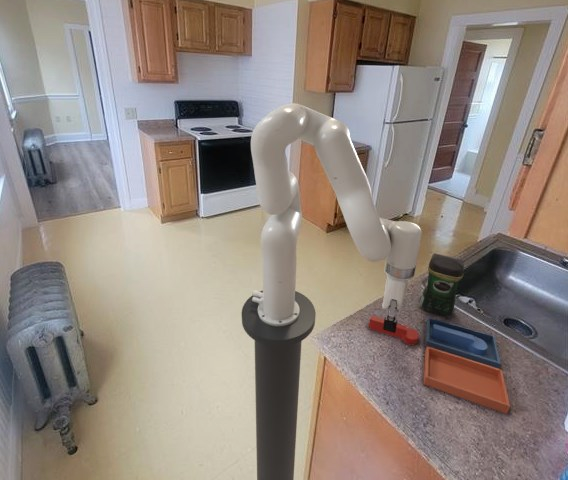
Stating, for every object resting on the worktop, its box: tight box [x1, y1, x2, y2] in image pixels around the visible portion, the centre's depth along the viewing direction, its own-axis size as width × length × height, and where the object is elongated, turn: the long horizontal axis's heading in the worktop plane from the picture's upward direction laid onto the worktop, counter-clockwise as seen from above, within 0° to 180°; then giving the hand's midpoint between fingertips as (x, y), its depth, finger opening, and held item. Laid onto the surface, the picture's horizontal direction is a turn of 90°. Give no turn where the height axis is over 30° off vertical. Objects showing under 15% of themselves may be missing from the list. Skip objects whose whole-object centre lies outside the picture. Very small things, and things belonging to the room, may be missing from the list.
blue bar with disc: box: [431, 324, 487, 355], centre depth 88 cm, size 13×4×3 cm, turn 66°
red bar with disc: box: [368, 315, 420, 346], centre depth 91 cm, size 13×4×3 cm, turn 66°
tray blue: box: [424, 316, 502, 369], centre depth 88 cm, size 17×10×2 cm, turn 66°
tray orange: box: [423, 346, 511, 415], centre depth 78 cm, size 17×10×2 cm, turn 66°
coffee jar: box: [420, 252, 465, 318], centre depth 98 cm, size 10×8×19 cm
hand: (391, 318), depth 90 cm, fingers open, 9 cm apart
